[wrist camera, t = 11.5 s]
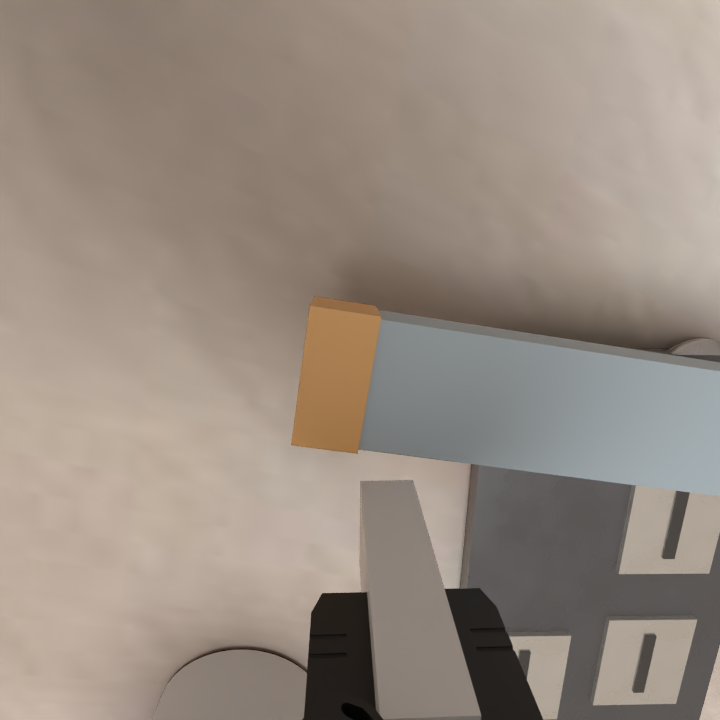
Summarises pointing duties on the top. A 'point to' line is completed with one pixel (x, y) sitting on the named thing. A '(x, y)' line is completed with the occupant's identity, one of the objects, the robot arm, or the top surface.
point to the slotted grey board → (600, 589)
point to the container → (235, 689)
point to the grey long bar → (506, 399)
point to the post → (697, 347)
